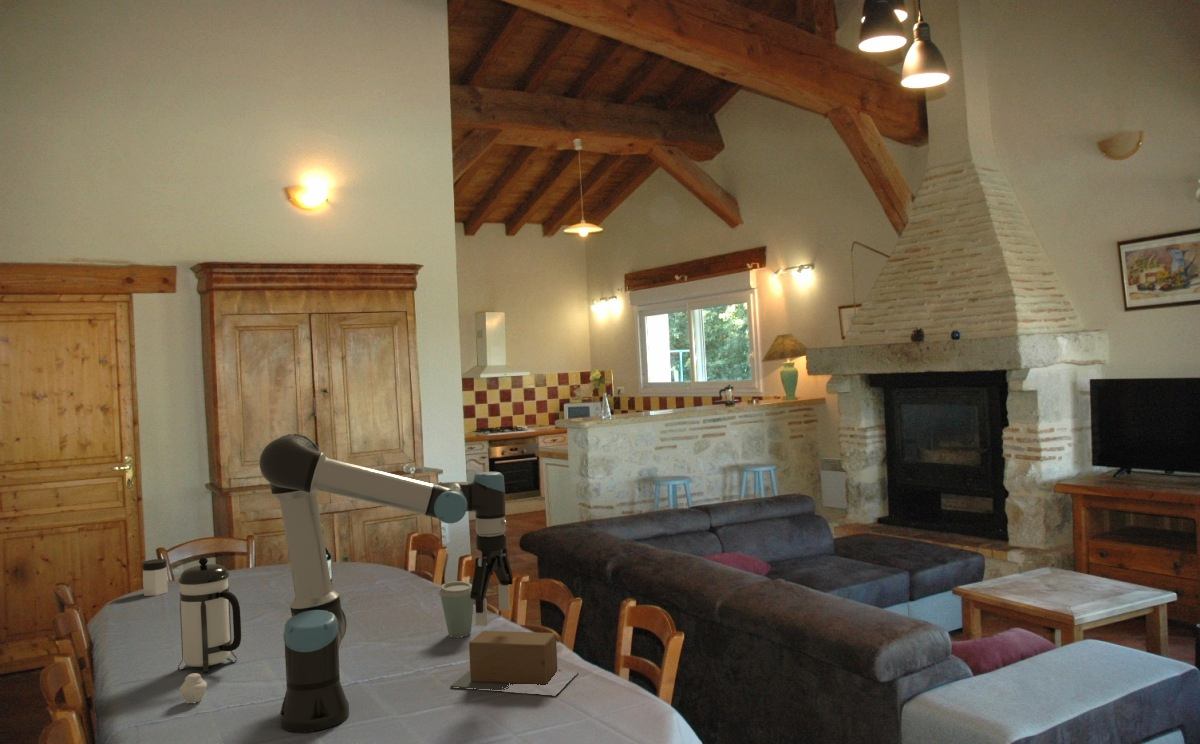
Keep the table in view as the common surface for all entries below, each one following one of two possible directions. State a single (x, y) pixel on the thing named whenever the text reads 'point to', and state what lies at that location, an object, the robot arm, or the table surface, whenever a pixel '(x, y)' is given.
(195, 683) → the beige rounded lump
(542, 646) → the wooden block
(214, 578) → the coffee press
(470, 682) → the mat
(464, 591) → the disposable coffee cup
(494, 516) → the robot arm
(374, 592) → the table surface
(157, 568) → the jar
